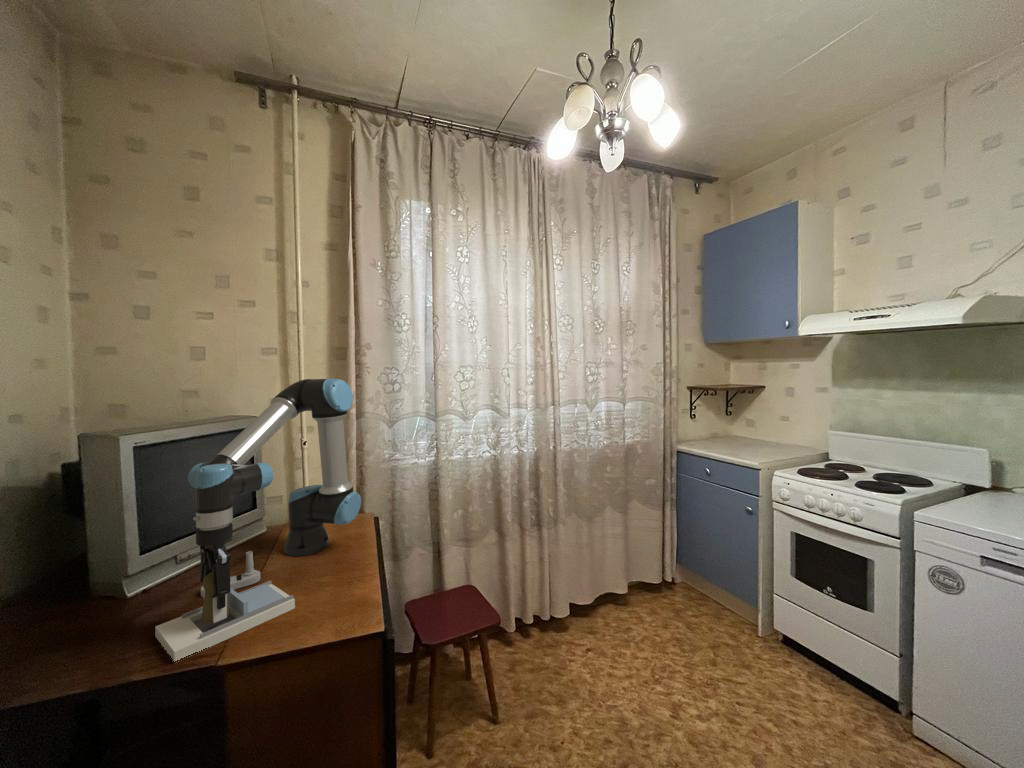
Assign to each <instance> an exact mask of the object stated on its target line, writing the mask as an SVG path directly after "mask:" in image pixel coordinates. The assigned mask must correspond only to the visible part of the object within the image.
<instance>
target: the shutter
mask: <svg viewBox="0 0 1024 768" xmlns="http://www.w3.org/2000/svg"><path fill="white" fill-rule="evenodd" d="M230 589H231V591H230V593H227V596H228V602H229V605H230V606H231V607H232V608H233V609H235V610H236V611H237V612H238V613H239V614H240V615H241V616H244V615H246V614H249V613H251V612H253V611H256V610H258V609H260V608H263V607H265V606H267V605H270V604H272V603H274V602H277V601H279V600H281V599H284V598H285V597H284V596H283V595H281V594H280V593H278V592H277V591H275V590H274V589H272V588H271V587H269V586H268V585H266V584H264V585H262V586H259V587H257V588H254V589H251V590H249V591H246V592H244V593H241V594H238V593H239V592H237V591H236V590H233V589H232V588H231V587H230Z"/></svg>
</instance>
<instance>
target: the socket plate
mask: <svg viewBox="0 0 1024 768" xmlns="http://www.w3.org/2000/svg"><path fill="white" fill-rule="evenodd" d="M272 583H273V581H272V580H268V581H266V582H263V583H261V584H257V585H256V586H252V587H250V588H247V589H245V590H242V591H239V592H237V593H238V594H241V593H244V592H246V591H249V590H251V589H254V588H257V587H259V586H262V585H264V584H266V585H268V586H269V587H271V588H272V589H274V590H275V591H277V592H278V593H280V594H281V595H283V596H284V597H285V598H284V599H281V600H279V601H277V602H274V603H272V604H270V605H267V606H265V607H263V608H260V609H258V610H256V611H253V612H251V613H249V614H246V615H244V616H241V615H240V614H239V613H238V612H237V611H236V610H235V609H233V608H232V607H231V606H230V605H229V607H230V614H229V615H228V616H227V618H225V619H223V620H220V621H218V622H216V623H202V622H201V616H202V609H203V606H200V607H198V608H195V609H192V610H190V611H187V612H185V613H182V614H181V616H179V617H176V618H174V619H171V620H169V621H166V622H163V623H161V624H160V623H159V625H158V624H157V625H156V626H155V628H154V630H155V632H154V633H155V638H156V639H157V641H158V642H159V643H161V644H160V646H161V647H162V648H163V647H164V648H163V649H164V651H165V650H166V651H167V652H166V651H165V652H166V653H167V655H168V654H169V655H170V656H171V658H172V659H173V660H172V659H171V658H170V659H171V660H172V662H173V661H174V662H175V661H177V660H180V659H181V658H184V657H186V656H188V655H191V654H193V653H195V652H198V653H200V652H202V651H204V650H203V649H205V648H207V649H209V648H211V647H213V646H215V645H217V644H220V643H221V642H224V641H227V640H229V639H231V638H233V637H235V636H237V635H240V634H242V633H244V632H245V631H248V630H251V629H252V628H255V627H257V626H259V625H261V624H263V623H265V622H268V621H270V620H273V619H274V618H276V617H279V616H281V615H284V614H285V613H287V612H289V611H292V610H294V609H295V608H296V605H295V604H296V599H295V598H294V595H293V594H291V595H289V594H288V593H286V592H285V591H283V590H282V589H281V588H279V587H277V586H276V585H274V584H272ZM208 647H209V648H208ZM201 650H202V651H201ZM205 650H206V649H205ZM199 651H200V652H199ZM169 655H168V656H169ZM170 656H169V657H170ZM191 656H192V655H191ZM174 662H173V663H174Z"/></svg>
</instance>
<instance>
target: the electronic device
mask: <svg viewBox="0 0 1024 768" xmlns="http://www.w3.org/2000/svg"><path fill="white" fill-rule="evenodd" d="M253 554H254V553H253V550H249V551H247V552H245V561H246V562H245V572H244V573H239V574H236V575H231V576H230V587H231V588H232V589H233V590H234V591H236V590H238V589H242V588H244V587H248V586H251V585H254V584H257V583H258V582H260V581H261V577H262V576H261V571H260V570H257V569H255V568H254V556H253ZM200 596H201V597H202V598H204V588H203V585H202V586H201V587H200Z"/></svg>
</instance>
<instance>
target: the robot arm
mask: <svg viewBox="0 0 1024 768" xmlns="http://www.w3.org/2000/svg"><path fill="white" fill-rule="evenodd" d="M353 394H354V393H353V391H352V388H351V386H350V385H349V384H348V383H347V382H346V381H344V380H343V379H340V378H339V379H337V378H313V379H312V378H308V379H307V378H305V379H301V380H298V381H296V382H294V383H291V384H290V385H288V386H287V387H285V388H284V389H283V390H281V391H280V392H279V393H278V394H276V395H275V396H274V397H273V398H272V399H271V401H270V405H269V406H268V407H267V408H266V409H265V410H263V412H262V413H260V414H259V415H258V416H257V417H256V418H255V419H254V420H253V421H252V422H250V424H248V425H247V426H246V427H245V428H244V429H243V430H242V431H241V432H240V433H239V434H238V435H236V437H234V438H233V439H232V441H230V442H229V443H228V444H226V446H225V447H224V448H223V449H221V450H220V452H218V453H217V454H216V455H215V456H214V457H213V458H212V459H210V461H206V462H200V463H198V464H195V465H194V466H193V467H192V468H191V469H190V470H189V472H188V475H187V480H188V483H189V485H190V486H191V487H192V488H194V489H195V515H196V516H194V517H192V518H193V521H194V522H195V528H197V529H196V530H195V544H196V545H197V546H199V549H200V572H199V575H200V577H199V582H200V583H202V582H203V579H204V578H205V576H207V575H208V574H210V573H212V576H213V585H214V595H213V596H211V598H213V623H216V622H218V621H220V620H223V619H225V618H227V593H230V591H231V589H230V577H231V571H230V569H231V567H230V566H231V565H230V563H231V553H230V552H228V551H227V547H226V545H225V543H226V542H227V541H229V540H231V539H232V538H233V530H234V529H233V527H234V526H233V523H232V522H233V521H234V520H233V519H234V517H233V516H234V515H233V514H234V513H233V512H234V507H233V501H234V500H233V498H235V497H239V496H241V495H246V494H250V493H253V492H256V491H260V490H262V489H265V488H267V487H269V486H270V485H271V484H272V482H273V480H274V470H273V468H272V466H271V465H269V464H268V463H266V462H259V463H258V462H255V463H252V464H247V463H248V462H249V460H250V459H251V458H253V457H254V456H255V454H256V453H258V451H259V450H260V449H261V448H262V447H264V445H266V443H267V442H268V441H269V440H270V439H271V438H272V437H273V436H274V435H275V434H276V433H277V432H278V431H279V430H280V429H281V428H282V427H283V426H284V425H285V424H286V423H287V422H288V421H289V420H291V419H295V418H296V417H297V416H298V415H299V414H301V413H303V412H308V411H309V412H311V418H312V419H313V420H315V421H316V423H317V424H316V425H317V435H318V444H319V445H318V446H319V456H320V467H321V481H322V484H312V485H308V486H301V487H299V488H295V489H294V490H291V492H290V493H289V495H288V521H289V523H288V526H289V528H288V534H287V536H286V539H285V543H284V545H283V553H284V555H287V556H290V557H301V556H302V557H303V556H309V555H312V554H317V553H320V552H321V551H323V550H325V549H326V548H327V547H328V546H329V543H330V540H329V535H328V532H327V530H326V528H325V524H334V525H336V526H338V525H348V524H350V523H352V521H354V520H355V519H356V517H357V515H358V514H359V512H360V508H361V504H362V497H361V495H360V494H359V492H356V491H354V485H353V483H352V482H350V481H349V476H348V465H347V451H346V441H345V440H346V439H345V427H344V419H345V417H346V416H347V415H348V410H349V409H351V408H352V404H353V402H354V395H353ZM204 595H205V589H204Z"/></svg>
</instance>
